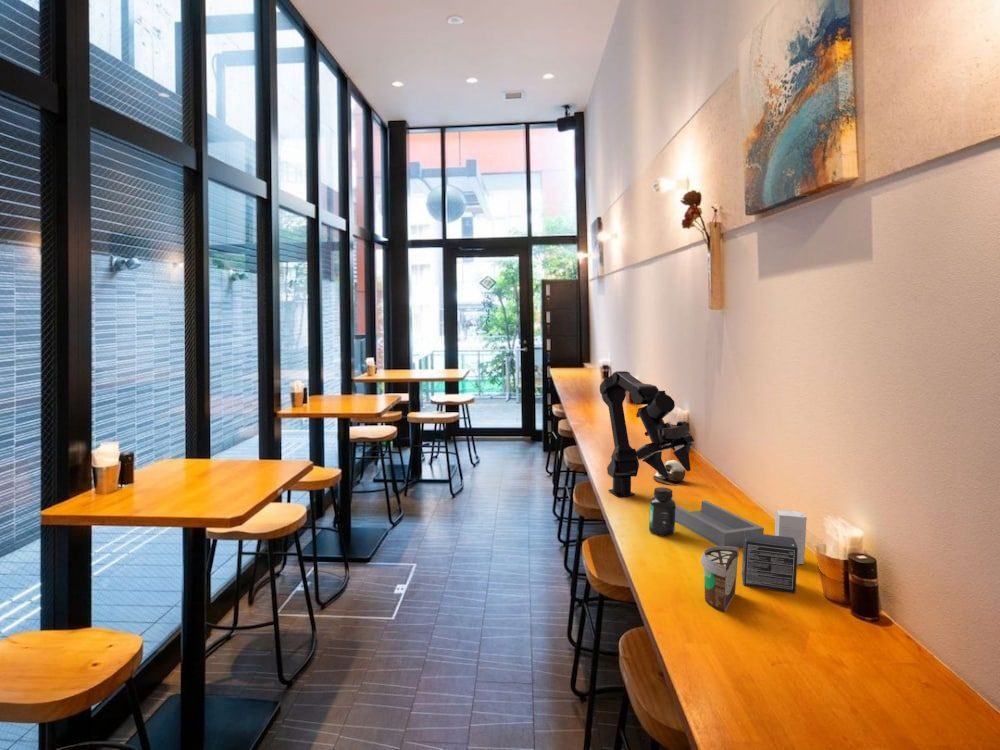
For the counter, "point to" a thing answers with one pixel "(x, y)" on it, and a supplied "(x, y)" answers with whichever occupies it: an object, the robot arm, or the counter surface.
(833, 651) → the counter surface
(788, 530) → the skincare box
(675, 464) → the skull
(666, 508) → the supplement bottle
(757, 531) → the gray rectangular tray
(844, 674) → the counter surface
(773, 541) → the small box
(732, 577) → the food container
